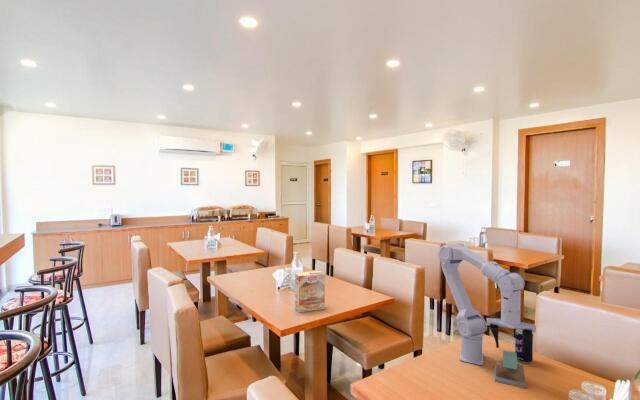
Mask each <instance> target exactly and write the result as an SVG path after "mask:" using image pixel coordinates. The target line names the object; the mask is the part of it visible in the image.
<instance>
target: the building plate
mask: <svg viewBox="0 0 640 400" xmlns="http://www.w3.org/2000/svg"><path fill="white" fill-rule="evenodd" d="M493 372H494V373H493V374H494V382H497V383H502V384H505V385H510V386H515V387H519V388H523V389H526V388H527V384H526V379H525V378H524V382H520V381H515V380H511V379H506V378H502V377H497V376H496V365H495V366H493Z"/></svg>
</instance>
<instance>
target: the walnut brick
mask: <svg viewBox="0 0 640 400" xmlns="http://www.w3.org/2000/svg"><path fill="white" fill-rule="evenodd" d="M495 367H496V376H497V377H502V378H506V379H511V380H515V381H520V382H524V379H525V374H524V373H525V370H524V365H523V364H520V363H517V369H512V368H507V367H503V360H502V359H501V360H500V359H496V360H495Z"/></svg>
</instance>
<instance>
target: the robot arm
mask: <svg viewBox="0 0 640 400" xmlns="http://www.w3.org/2000/svg"><path fill="white" fill-rule="evenodd" d="M437 255H438V257H439V261H440V262H441V269H442V272H443V274H444V277H445V279H446V283H447V285H448V287H449V290H450V292H451V295H452V298H453V300H454V302H455V306H456V308H457V311H458V313H457V315H456V317H455V320H456V325H457V330H458V332H459V334H460V336H461V349H460V354H459V361H460V362H465V363H470V364H473V365H478V366H484V353H483V337H484V333H486V332H487V330H488V326H489V327H490V331H491V333H492V336H493V338H494V342H495V347H496V348H497V349H499V347H500V346H499V345H500V343H499V327H501V328H508V329H513V330H516V329H520V330H522V352H523V353H525V349H526V346H527V344H528V342H529V340H530V339H531V337H532V333H537V325H536V324H531V323H527V322H523V321H521V301H522V300H521V299H522V298H521V297H522V296H521V294H522V291H521V290H523V289H524V287H525V286H526V285H525V284H526V283H525V279H524V278H523V276H521V275H520V274H519V273H517V272H510V270H509V269H505V268H503V267H502V266H500V265H499V263H498V262H497V261H492V260H491V261H486V260H485V259H483V258H482V257H480V256H479V255H478V254H476V253H475V252H473V251H472V250H470V248H469V246H466V245H465V244H463V243H461V242H460V243H455V244H442V245H441V246H440V248H439V250H438V253H437ZM463 261H465V262H467V263H469V264H471V265H472V266H474V267H475V268H478V269H480V270H481V273H482V275H483V276H485V277H486V278H488V279H489V280H490V281H492V282H493V283H495V284H497V287H498V289H499V290H500V297H501V301H500V304H501V305H500V307H501V308H500V318H492V317H486V320H485V319H484V318H483V316H482V315H481V313H480V311H478V310H477V309H475V308H474V306H473V305H472V302H471V299H470V297H469V295H468V293H467V290H466V287H465V284H464V283H463V279H462V278H461V275H460V272H459V270H458V268H459V267H460V264H461V263H462V262H463Z"/></svg>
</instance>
